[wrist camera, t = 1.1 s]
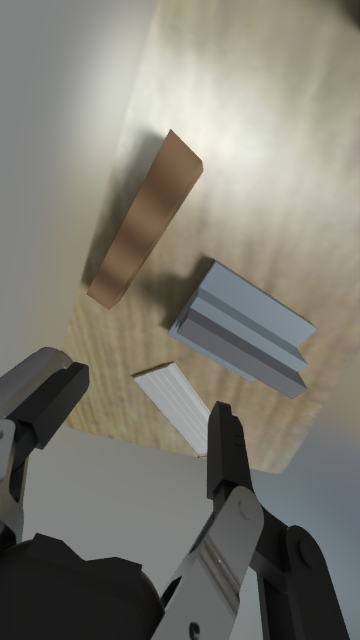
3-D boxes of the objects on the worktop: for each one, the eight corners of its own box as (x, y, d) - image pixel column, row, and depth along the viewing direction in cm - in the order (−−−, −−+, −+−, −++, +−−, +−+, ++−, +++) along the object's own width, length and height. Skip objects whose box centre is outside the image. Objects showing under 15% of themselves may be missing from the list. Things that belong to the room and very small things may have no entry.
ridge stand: (249, 374, 34) (261, 418, 26) (169, 328, 32) (156, 361, 24) (311, 322, 27) (351, 361, 20) (215, 259, 25) (217, 275, 17)
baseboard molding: (181, 357, 36) (135, 373, 40) (178, 367, 33) (130, 383, 37) (239, 442, 46) (198, 448, 51) (241, 455, 44) (198, 459, 48)
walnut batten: (120, 300, 31) (108, 309, 28) (100, 286, 30) (86, 293, 27) (203, 171, 21) (202, 161, 18) (177, 145, 20) (170, 128, 17)
